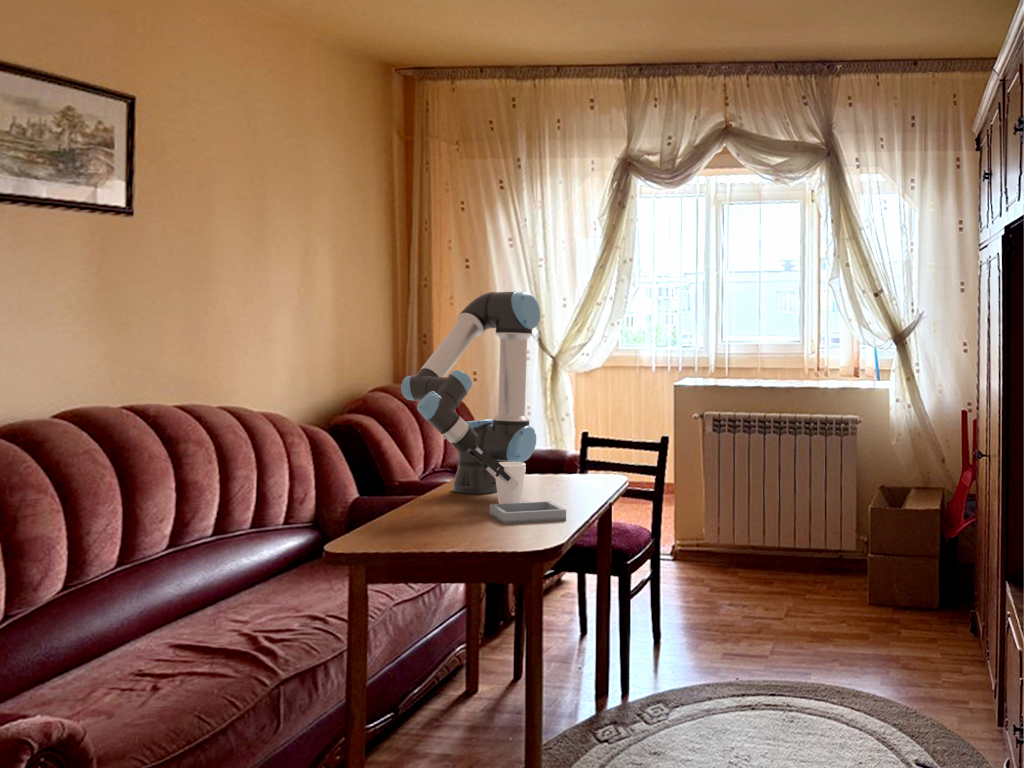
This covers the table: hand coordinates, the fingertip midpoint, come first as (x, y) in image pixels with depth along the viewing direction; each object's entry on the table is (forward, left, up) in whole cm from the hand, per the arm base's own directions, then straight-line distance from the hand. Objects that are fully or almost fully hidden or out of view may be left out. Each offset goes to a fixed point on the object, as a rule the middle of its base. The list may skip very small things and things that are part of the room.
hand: (509, 483), depth 340 cm
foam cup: (-1, 0, -7) cm, 7 cm away
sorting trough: (+17, 0, -7) cm, 19 cm away
